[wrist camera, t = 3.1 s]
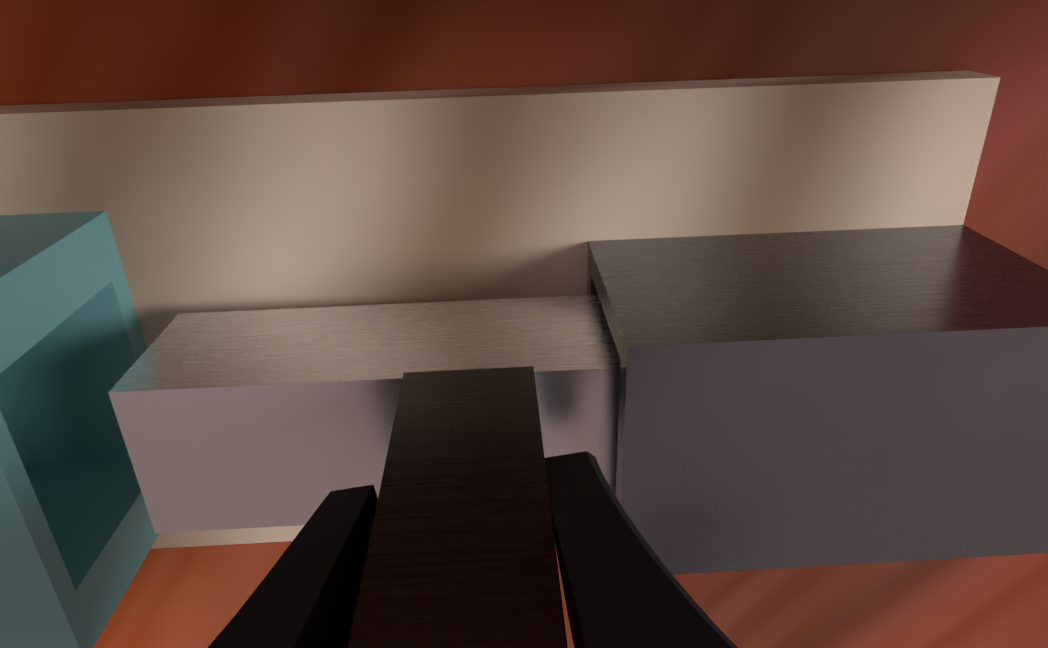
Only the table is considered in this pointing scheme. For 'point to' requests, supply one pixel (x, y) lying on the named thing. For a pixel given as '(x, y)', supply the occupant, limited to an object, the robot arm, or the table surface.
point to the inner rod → (387, 446)
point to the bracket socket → (65, 431)
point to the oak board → (478, 184)
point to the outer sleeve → (828, 396)
